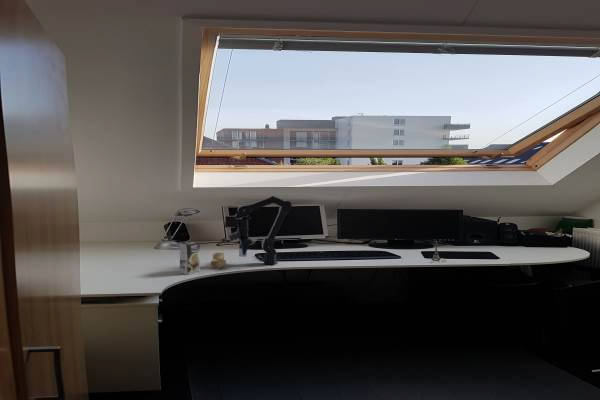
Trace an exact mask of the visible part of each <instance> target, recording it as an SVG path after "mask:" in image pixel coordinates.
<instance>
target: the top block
mask: <svg viewBox="0 0 600 400" xmlns="http://www.w3.org/2000/svg"><path fill="white" fill-rule="evenodd" d="M223 260H225V252H214V253H212V261H214V262H222V261H223Z"/></svg>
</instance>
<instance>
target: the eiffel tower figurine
mask: <svg viewBox="0 0 600 400" xmlns="http://www.w3.org/2000/svg"><path fill="white" fill-rule="evenodd" d="M437 245H438V241H437V239H436V241H435V251H434V254H433V256H432V258H431V259H430V262H429V264H432V263H433V264H434V263H435V264H436V263H447V262H448V260H447V259H444V258H442V257H441V258H440V256H439V253H438V246H437Z"/></svg>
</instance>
